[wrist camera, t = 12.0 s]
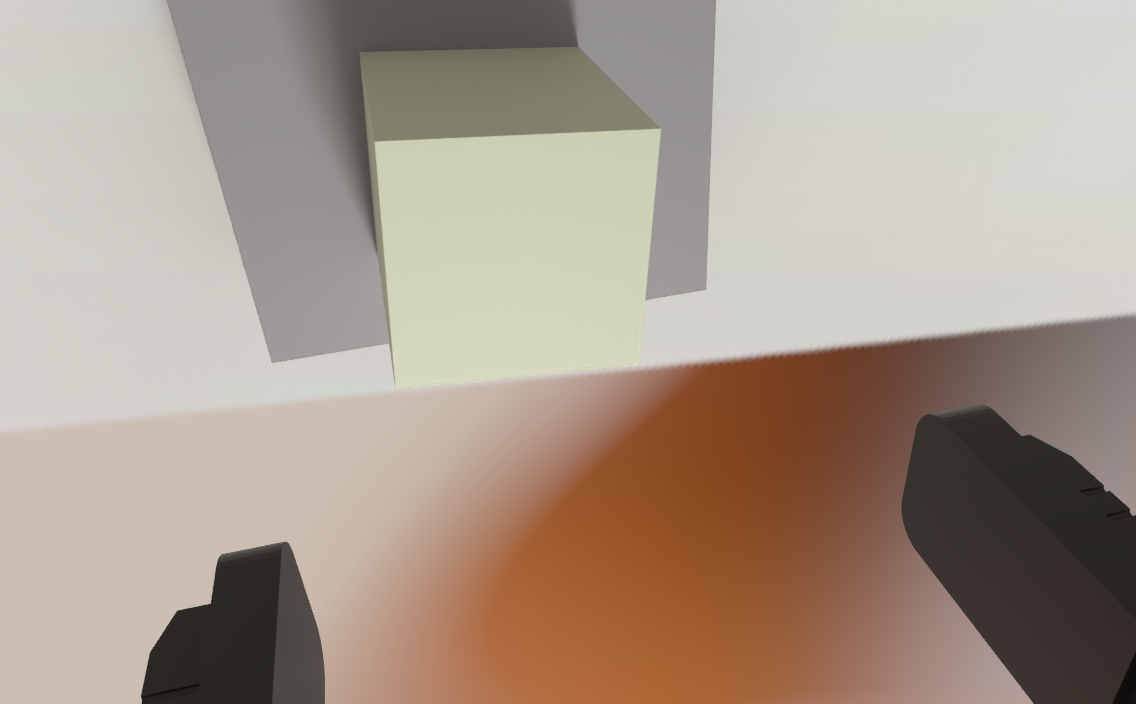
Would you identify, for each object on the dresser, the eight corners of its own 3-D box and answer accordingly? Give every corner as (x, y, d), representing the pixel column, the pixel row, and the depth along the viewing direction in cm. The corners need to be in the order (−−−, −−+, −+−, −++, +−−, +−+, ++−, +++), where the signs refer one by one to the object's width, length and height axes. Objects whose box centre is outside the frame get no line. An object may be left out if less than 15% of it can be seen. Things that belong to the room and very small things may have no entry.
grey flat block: (674, -117, 22) (719, -105, 20) (671, 244, 28) (705, 289, 25) (172, -71, 20) (151, -52, 18) (276, 307, 26) (271, 363, 23)
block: (578, 46, 21) (661, 128, 16) (570, 241, 23) (639, 364, 18) (359, 52, 20) (374, 141, 15) (377, 256, 22) (395, 389, 17)
